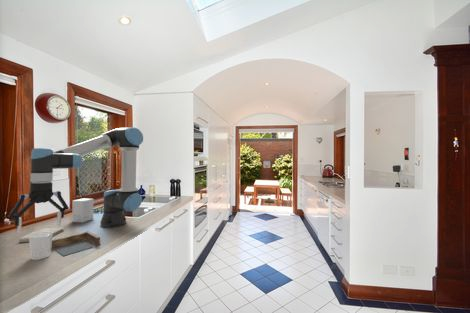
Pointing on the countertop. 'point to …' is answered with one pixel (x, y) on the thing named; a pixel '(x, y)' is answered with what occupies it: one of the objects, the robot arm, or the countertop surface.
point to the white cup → (40, 245)
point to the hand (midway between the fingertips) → (40, 229)
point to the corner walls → (76, 239)
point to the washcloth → (53, 230)
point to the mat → (73, 248)
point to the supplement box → (82, 210)
